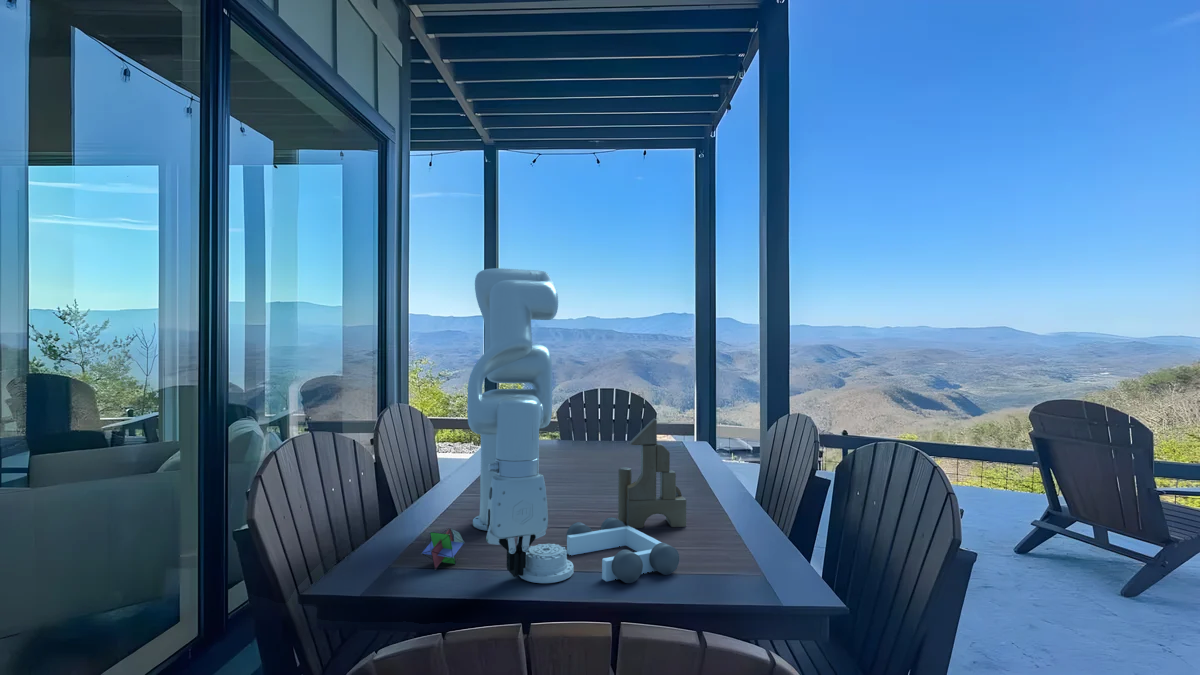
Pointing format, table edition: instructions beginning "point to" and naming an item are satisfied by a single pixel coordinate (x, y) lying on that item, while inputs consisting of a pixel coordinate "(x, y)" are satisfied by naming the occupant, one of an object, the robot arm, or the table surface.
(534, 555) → the mechanical component
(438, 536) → the geometric puzzle
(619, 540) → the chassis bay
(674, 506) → the wooden toy
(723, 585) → the table surface
